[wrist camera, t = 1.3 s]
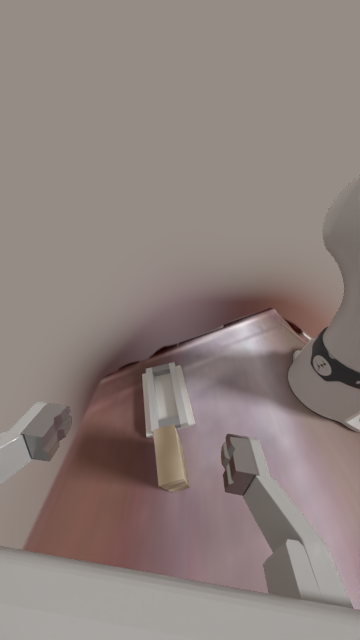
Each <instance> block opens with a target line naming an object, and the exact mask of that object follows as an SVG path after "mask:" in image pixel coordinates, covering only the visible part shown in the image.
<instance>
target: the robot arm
mask: <svg viewBox="0 0 360 640" xmlns="http://www.w3.org/2000/svg"><path fill="white" fill-rule="evenodd" d="M322 235H323V241H324V245H325V247H326V249H327V250H328V252H330V254H331V255H332V256H333V257H334V259H335V261H336V263H337V264H338V266H339V269H340V271H341V274H342V277H343V283H344V296H343V300H342V303H341V305H340V307H339V309H338V311H337V313H336V315H335V316H334V318H333V320H332V321H331V323H330V325H329V326H328V327H326V328H325V329H324V330H323V331H322V332H321V333H320V334H319V335H318V336H317V337H316V339H311V340H310V341H309V342H308V343H307V344H306V346H305V347H304V348H303V349H302V350H297V351H295V352H294V354H293V363H292V365H291V366H290V368H289V371H288V381H289V384H290V387H291V389H292V391H293V392H294V394H295V395H296V396H297V398H298V399H299V400H300V401H301V402H302V403H303V404H304V405H306V406H307V407H308V408H309V409H311V410H312V411H314V412H316V413H317V414H319V415H321V416H324V417H326V418H329V419H333V420H336V421H338V422H341V423H342V424H344V425H345V426H347V427H348V428H350V429H352V430H354V431H356V432H360V421H359V420H360V175H359V176H358V177H357V178H355V179H354V180H353V181H352V182H351V183H349V184H348V185H347V186H346V187H345V188H344V189H343V190H342V191H341V192H340V193H339V195H338V196H337V197H336V198H335V200H334V201H333V203H332V204H331V206H330V208H329V209H328V212H327V214H326V216H325V219H324V223H323V230H322ZM70 412H71V410H70V407H68V406H62V405H57V404H52V403H47V402H41V401H39V402H37V403H35V404H34V405H33V406H32V407H31V409H29V410H28V412H27V413H26V414H25V415H24V416H23V417H22V418H21V419H20V420H19V421H18V422H17V423H16V424H15V425H14V426H13V427H12V428H11V429H10V430H9V431H8V432H3V433H1V434H0V484H1V483H3V482H4V481H5V480H6V479H8V478H9V477H10V476H12V475H13V474H14V473H15V472H17V471H18V470H19V469H20V468H22V467H23V466H24V465H26V464H27V463H28V462H29V461H31V459H35V460H43V461H50V460H51V458H52V457H53V455H54V454H55V452H56V451H57V449H58V448H59V441H60V440H62V439H63V438H64V437H66V435H67V434H68V432H69V430H70V427H71V424H72V417H71V416H70V415H69V413H70ZM221 461H222V465H223V467H224V468H225V472H224V474H223V478H224V487H225V492H227V493H232V494H237V495H242V496H243V498H244V500H245V502H246V503H247V505H248V507H249V509H250V511H251V513H252V515H253V516H254V518H255V520H256V522H257V524H258V526H259V527H260V529H261V531H262V533H263V535H264V537H265V538H266V540H267V542H268V544H269V546H270V548H271V550H272V551H273V554H272V555H271V556H270V557H269V558H268V559H267V560H266V561H265V562H264V564H263V567H264V572H265V577H266V582H267V587H268V592H269V594H268V593H262V592H256V591H251V590H245V589H240V588H234V587H228V586H223V585H217V584H211V583H206V582H200V581H195V580H189V579H183V578H178V577H172V576H167V575H161V574H155V573H150V572H144V571H139V570H133V569H127V568H122V567H116V566H110V565H105V564H99V563H94V562H88V561H82V560H77V559H71V558H66V557H60V556H54V555H49V554H43V553H37V552H32V551H26V550H21V549H14V548H9V547H4V546H0V640H360V610H357V609H354V608H353V606H352V604H351V601H350V599H349V597H348V594H347V592H346V589H345V587H344V585H343V582H342V580H341V578H340V575H339V573H338V570H337V568H336V566H335V563H334V561H333V559H332V556H331V554H330V551H329V549H328V547H327V545H326V543H325V542H324V541H323V540H322V538H321V537H320V536H319V534H318V533H317V532H316V531H315V529H314V528H313V527H312V526H311V524H310V523H309V522H308V520H307V519H306V518H305V517H304V515H303V514H302V513H301V512H300V510H299V509H298V508H297V506H296V505H295V504H294V503H293V501H292V500H291V499H290V498H289V496H288V495H287V494H286V493H285V491H284V490H283V489H282V487H281V486H280V485H279V484H278V482H277V481H276V480H275V479H274V478H271V475H270V472H269V469H268V466H267V463H266V460H265V456H264V453H263V450H262V447H261V444H260V441H259V440H258V439H257V438H251V437H247V436H240V435H234V434H227V435H226V442H225V443H223V445H222V450H221Z"/></svg>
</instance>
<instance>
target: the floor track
mask: <svg viewBox="0 0 360 640" xmlns="http://www.w3.org/2000/svg"><path fill="white" fill-rule="evenodd" d="M142 381H143V395H144V409H145V424H146V437H147V438H150V437H154V433H153V430H154V429H158V428H161V427H165V426H169V425H173V424H174V425H175V428H176V430H180V429H184V428H187V427H191V426H195V421H194V417H193V413H192V409H191V404H190V400H189V396H188V392H187V388H186V384H185V380H184V376H183V372H182V368H181V365H179V366H175V362H172V363H168V364H164V365H160V366H155V367H151V368H147V369H146V373H145V374H142Z"/></svg>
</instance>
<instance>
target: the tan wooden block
mask: <svg viewBox="0 0 360 640" xmlns="http://www.w3.org/2000/svg"><path fill="white" fill-rule="evenodd" d="M153 433H154V444H155V454H156V465H157V475H158V486H159V487H162V488H164V489H166V490H168V491H170V492H172V493H173V492H176V491H180V490H183V489H186V488H190V486H189V481H188V476H187V470H186V465H185V459H184V454H183V449H182V445H181V442H180V439H179V436H178V434H177V431H176V428H175V425H174V424H173V425H169V426H165V427H161V428H158V429H154V430H153Z"/></svg>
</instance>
